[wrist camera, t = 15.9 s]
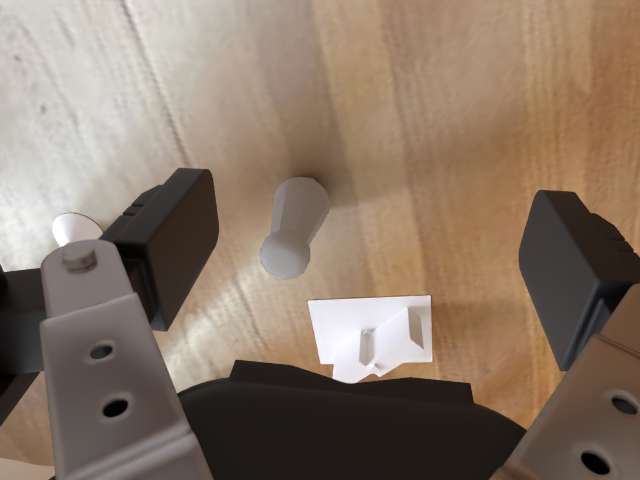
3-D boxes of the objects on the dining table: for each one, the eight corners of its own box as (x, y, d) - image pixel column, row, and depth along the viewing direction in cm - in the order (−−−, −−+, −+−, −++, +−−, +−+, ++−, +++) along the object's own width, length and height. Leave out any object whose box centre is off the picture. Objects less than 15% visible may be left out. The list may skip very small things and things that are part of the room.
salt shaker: (308, 157, 47) (285, 221, 36) (342, 198, 49) (331, 270, 38) (267, 188, 50) (234, 257, 39) (301, 226, 52) (280, 301, 41)
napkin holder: (430, 293, 55) (434, 327, 50) (433, 361, 61) (438, 397, 56) (306, 300, 57) (299, 333, 53) (321, 365, 63) (316, 399, 59)
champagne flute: (51, 205, 54) (-144, 360, 34) (108, 223, 55) (-52, 386, 35) (53, 250, 58) (-123, 414, 38) (106, 266, 58) (-40, 436, 38)
